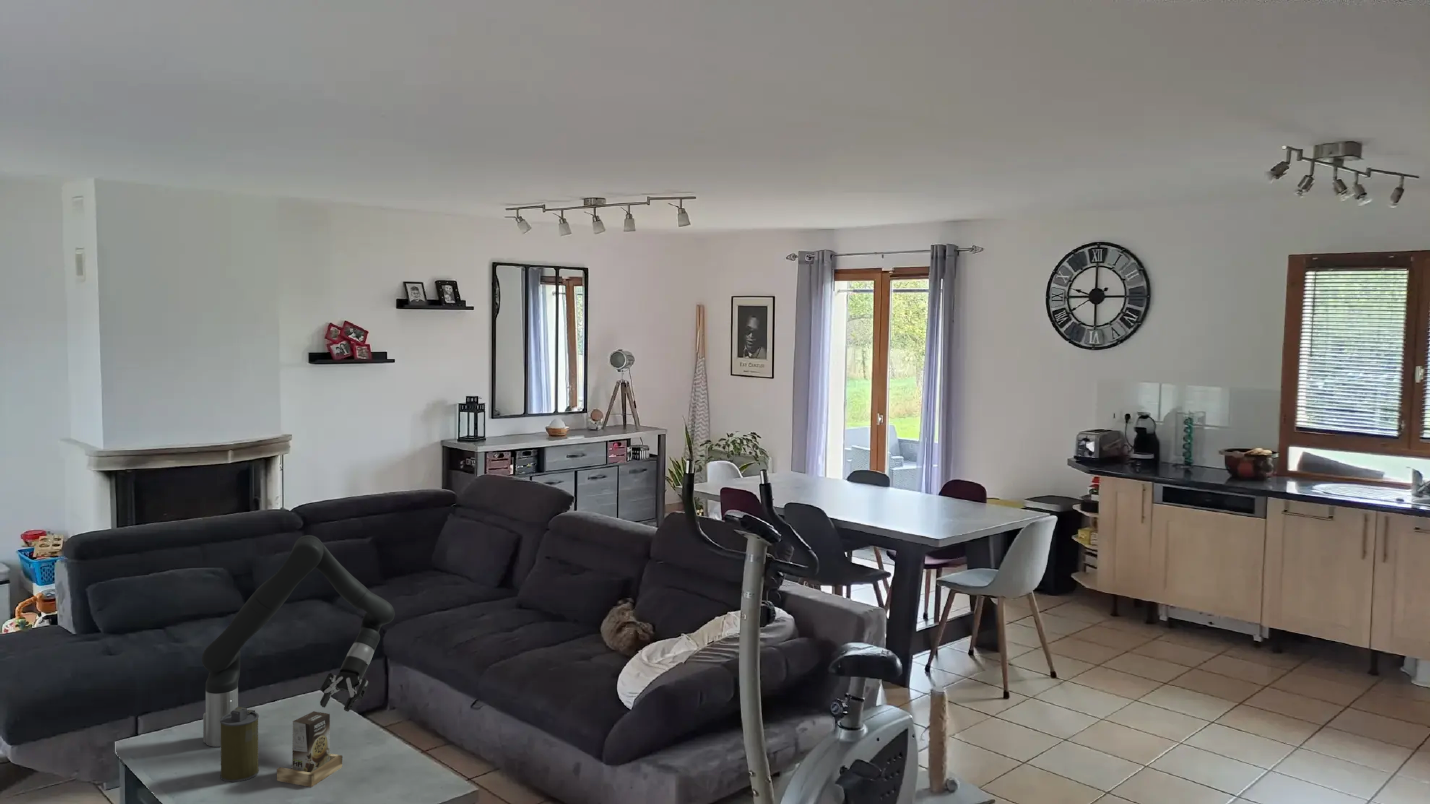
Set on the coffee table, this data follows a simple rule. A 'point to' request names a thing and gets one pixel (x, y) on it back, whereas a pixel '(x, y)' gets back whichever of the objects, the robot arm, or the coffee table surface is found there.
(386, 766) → the coffee table surface
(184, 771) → the coffee table surface
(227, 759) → the canister
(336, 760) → the oak cradle
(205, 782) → the coffee table surface
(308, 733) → the coffee box
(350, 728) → the coffee table surface
